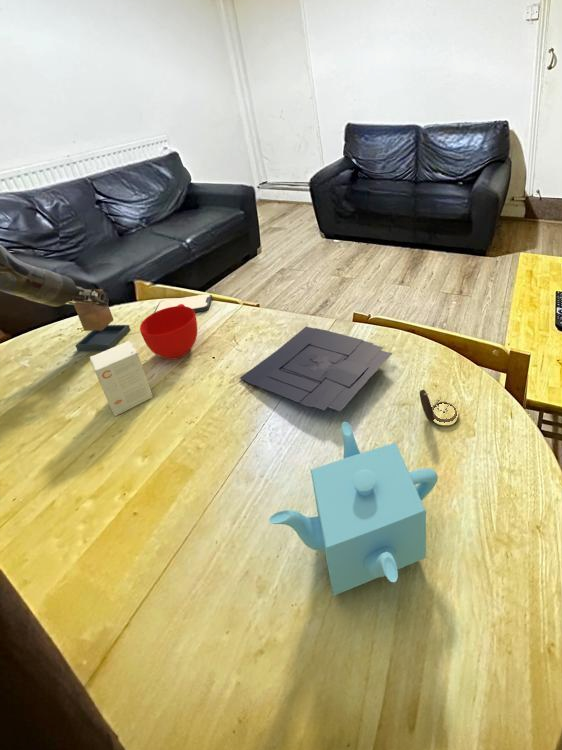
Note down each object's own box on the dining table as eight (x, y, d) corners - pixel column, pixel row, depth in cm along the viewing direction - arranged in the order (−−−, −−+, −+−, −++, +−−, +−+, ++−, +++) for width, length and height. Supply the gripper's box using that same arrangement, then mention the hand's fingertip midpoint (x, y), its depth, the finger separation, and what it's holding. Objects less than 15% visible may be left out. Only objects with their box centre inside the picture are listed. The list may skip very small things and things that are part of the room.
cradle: (77, 351, 111) (75, 345, 111) (100, 330, 120) (98, 325, 119) (110, 350, 111) (108, 345, 110) (130, 330, 119) (128, 324, 119)
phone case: (153, 320, 124) (208, 311, 127) (151, 316, 123) (207, 306, 126) (161, 304, 132) (213, 296, 135) (159, 300, 131) (212, 292, 134)
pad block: (84, 331, 111) (71, 299, 107) (96, 320, 116) (84, 289, 112) (102, 330, 111) (89, 299, 107) (113, 320, 116) (102, 289, 111)
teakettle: (443, 513, 68) (445, 450, 62) (397, 647, 53) (394, 580, 47) (345, 470, 76) (339, 411, 70) (280, 576, 61) (265, 512, 55)
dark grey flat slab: (337, 428, 83) (333, 414, 82) (241, 388, 99) (237, 375, 98) (397, 358, 102) (395, 345, 101) (308, 334, 118) (306, 323, 117)
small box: (145, 383, 99) (130, 339, 94) (153, 397, 95) (138, 352, 89) (107, 402, 94) (88, 356, 89) (114, 417, 90) (94, 370, 84)
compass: (464, 423, 85) (465, 396, 82) (427, 432, 83) (427, 405, 80) (448, 395, 92) (449, 369, 89) (415, 403, 90) (414, 377, 87)
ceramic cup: (212, 325, 120) (204, 296, 116) (195, 364, 105) (186, 332, 101) (165, 330, 119) (156, 300, 115) (142, 370, 103) (130, 338, 99)
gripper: (79, 271, 98) (125, 288, 114) (21, 272, 98) (75, 289, 114) (70, 302, 95) (119, 316, 111) (11, 303, 96) (67, 316, 112)
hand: (96, 302), depth 113 cm, fingers closed on pad block, 5 cm apart
